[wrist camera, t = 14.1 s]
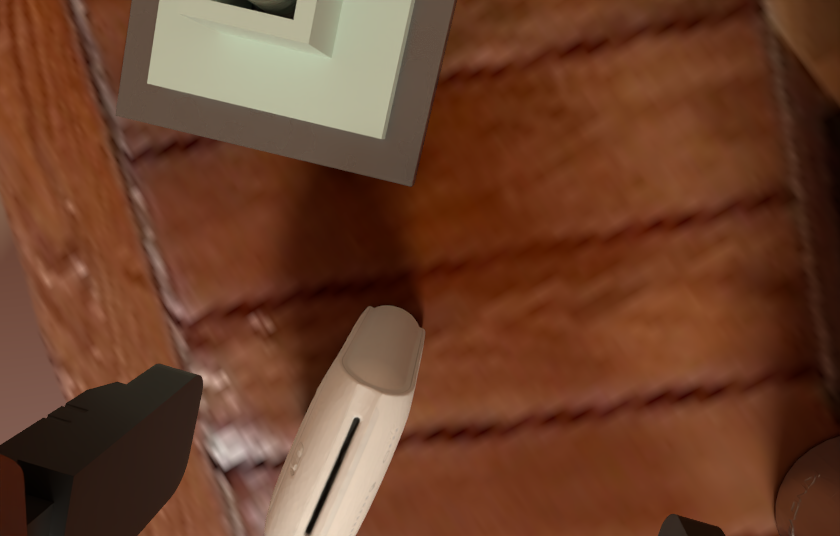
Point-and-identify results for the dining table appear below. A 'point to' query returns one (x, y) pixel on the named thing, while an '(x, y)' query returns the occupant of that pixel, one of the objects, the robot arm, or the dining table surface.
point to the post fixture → (289, 135)
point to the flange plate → (287, 57)
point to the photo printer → (349, 429)
